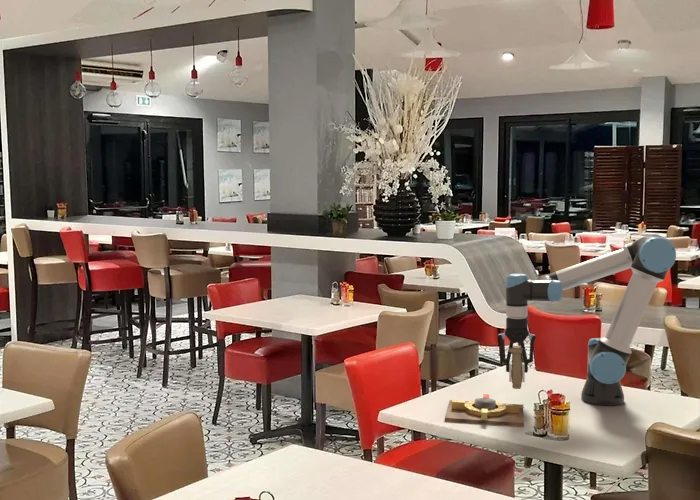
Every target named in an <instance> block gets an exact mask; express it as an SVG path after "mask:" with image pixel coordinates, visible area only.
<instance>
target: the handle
mask: <svg viewBox="0 0 700 500" xmlns="http://www.w3.org/2000/svg"><path fill="white" fill-rule="evenodd" d="M508 349H509V352H511V384H512V386H511V387H512V389H514V390H520V389H522V383H523V382H522V363H523V360H522V358H523V351H522V350H523V348H521V345H513V348H509V347H508Z"/></svg>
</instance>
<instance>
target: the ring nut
mask: <svg viewBox="0 0 700 500" xmlns="http://www.w3.org/2000/svg"><path fill="white" fill-rule="evenodd" d="M482 398H489V399H490V394H488V393H487V394H483V396H482ZM451 400H452V408H451V409H458V410H464V411H466V412H467V413H469V414H473V415H477V416H481V420H487V417H492V416H501V415H503V414H505V413H519V403H517V404H516V403H504V404H506V406H505V405H504V404H502V402H499V401H496V409H492V410H488V409H478V408H475V400H470V402H467V403H465V401H466V400H455V399H451Z"/></svg>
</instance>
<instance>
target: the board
mask: <svg viewBox="0 0 700 500" xmlns="http://www.w3.org/2000/svg"><path fill="white" fill-rule="evenodd" d="M452 400H453V399H450V400H449V402H448V405H447V407H446V413H445V415H444V422H449V421H452V422H451V423H453V422H454V423H463V422H464V424H465V423H466V424H481V425H493V426H494V425H496V426H509V427H521V428H522V427H525V417H524V416H525V413H524V408H525V407H524V404H519V403H518V404H519V413H505V414H503V415H501V416H492V417H487V420H481V416H477V415H473V414H469V413H467V412H466V411H464V410H458V409H451V408H452ZM464 401H465V403H467V402H470V401H471V400H470V401H469V400H464ZM474 401H475V408H478V409H488V410H492V409H496V402H497V401H496V400H495V399H493V398H490V397H489V398H483V397H478V398H476V399H474ZM501 403H502V402H501ZM502 404H504V405H505V406H506V404H507V403H502Z"/></svg>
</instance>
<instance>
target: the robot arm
mask: <svg viewBox="0 0 700 500" xmlns="http://www.w3.org/2000/svg"><path fill="white" fill-rule="evenodd" d="M676 259H677V252H676V248H675V245H674V244H673V243H672V242H671V240H669V239H668V238H666V237H664V236H662V235H659V234H647V235H645V236H643V237H640V238H638V239H636V240H634V241H631V242H629V243H626V244H624V245H623V246H622V248H620V249H618V250H614V251H612V252H609V253H606V254H603V255H600V256H597V257H594V258H590V259H588V260H586V261H583V262H580V263H577V264H574V265H571V266H568V267H565V268H563V269H559V270H557V271H554V272H550V273H548V274H543V275H539V276H538V277H537V278H536V279H529V278H528V275H527V274H525V273H510V274H508V275H507V276H506V279H505V280H506V281H505V282H506V284H505V294H506V295H505V299H506V301H505V302H506V303H505V304H506V305H505V309H506V310H505V311H506V312H505V313H506V318H505V321H506V322H505V323H506V324H505V325H506V327H505V330H504V332H502V333H498V335H497V337H498V340H499V343H500V344H499V345H500V349H499V350H500V361H501V362H502V363H505V371H506V373H509V374H508V375H509V379H508V382H510V383H512V377H511V369H512V361H511V362H510V360H511V358H512V353H511V352H509V348H513V346H514V344H516V343H517V344H520V346H521V348H523V350H522V351H523V353H522V358H523V362H522V383H525V382H526V381H525V379H526V378H525V376H526V375H525V374H528V371H529V367H528V366H529V364H531V363H533V362H534V350H535V349H534V348H535V347H534V344H535V343H534V342H535V341H536V338H537V337H536V334H534V333H533V334H532V333H530V332H529V331H530V330H529V329H528V327H529V326H528V322H529V321H528V318H527V317H528V315H529V314H528V305H529V304H528V303H529V302H551V303H552V302H561V300H563V299H562V298H563V291H566V290H569V289H572V288H575V287H579V286H582V285H584V284H587V283H590V282H593V281H595V280H599V279H601V278H605V277H608V276H611V275H615V274H618V273H620V272H623V271H626V270H629V269H631V272H632V275H631V277H630V280H629V282H628V284H627V286H626V288H625V291H624V293H623V295H622V297H621V299H620V301H619V304H618V307H617V309H616V311H615V312H614V315H613V317H612V320H611V322H610V325H609V328H608V330H607V332H606V335H604V336H602V337H595V338H593V337H592V338H590V339H589V340H588V343H587V368H586V370H587V371H586V380H585V382H584V385H583V388H582V390H581V395H580V396H581V397H580V398H581V400H582V401H583V402H586V403H588V404H593V405H597V406H606V407H607V406H612V407H613V406H619V405H618V404H620V405H622V403H623V402H624V403H625V394H624V390H623V388H622V384H621V380H622V379H623V378H624V376H625V374H626V371H627V364H628V361H629V359H630V358H631V355H632V350H631V347H630V345H631V343H632V341H633V339H634V337H635V334H636V332H637V330H638V327H639V325H640V323H641V321H642V319H643V316H644V314H645V312H646V310H647V307H648V305H649V303H650V301H651V298H652V296H653V294H654V292H655V289H656V287H657V285H658V283H661V282H663V281H665V278H666V277H667V274H668V272H669V270H670V269H671V268H672V267H673V266H674V264H675V263H676ZM528 301H529V302H528ZM505 337H507V339H508V341H509V345H508V348H507V350H508V351H507V354H506V357H505V346H504V344H505V342H504V340H505ZM527 338H528V340H529V358H528V356H527V351H526V346H525V341H526V339H527ZM624 403H623V404H624Z"/></svg>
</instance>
